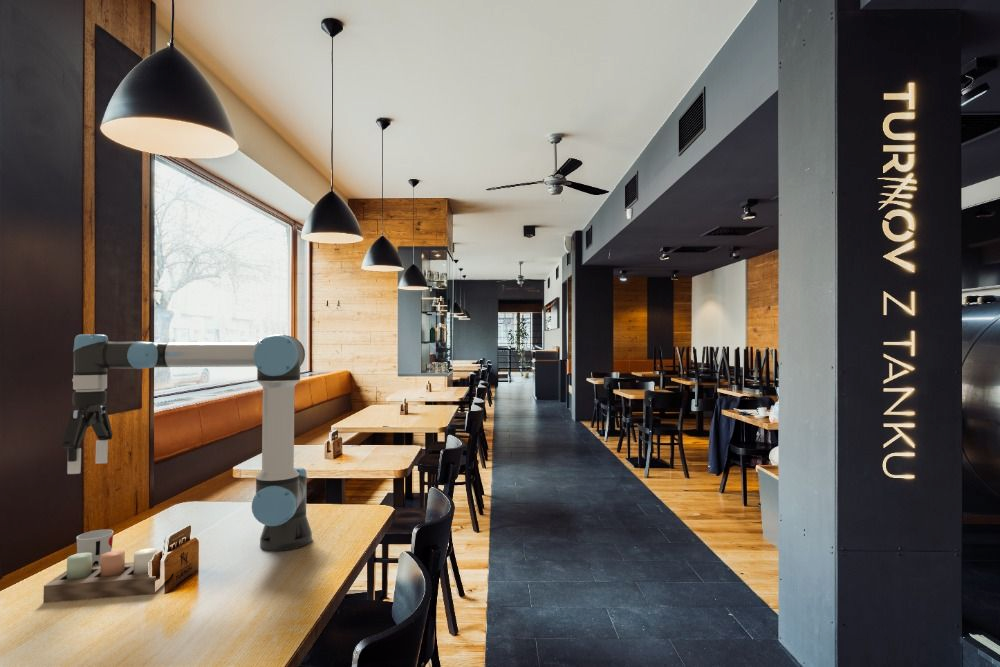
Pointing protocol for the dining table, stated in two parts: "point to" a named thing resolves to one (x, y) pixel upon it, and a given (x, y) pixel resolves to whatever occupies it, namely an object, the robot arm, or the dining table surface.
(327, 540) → the dining table surface
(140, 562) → the button cream
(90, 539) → the cup
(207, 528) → the dining table surface
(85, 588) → the wooden slotted tray
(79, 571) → the pale green rounded cube
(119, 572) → the pink rounded cube
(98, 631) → the dining table surface
